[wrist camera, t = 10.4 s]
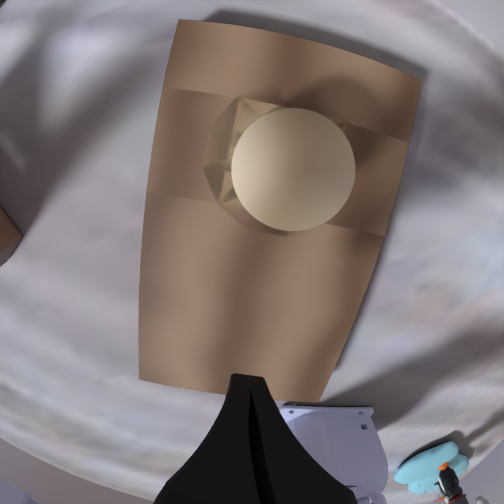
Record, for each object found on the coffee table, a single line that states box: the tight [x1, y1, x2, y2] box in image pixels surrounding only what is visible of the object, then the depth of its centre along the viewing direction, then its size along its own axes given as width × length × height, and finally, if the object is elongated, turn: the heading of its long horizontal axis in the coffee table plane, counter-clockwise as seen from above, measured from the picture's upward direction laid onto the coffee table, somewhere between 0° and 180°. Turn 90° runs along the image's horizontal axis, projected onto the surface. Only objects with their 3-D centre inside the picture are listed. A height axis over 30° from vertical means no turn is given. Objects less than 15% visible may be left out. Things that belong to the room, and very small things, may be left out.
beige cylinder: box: [231, 108, 355, 231], centre depth 16 cm, size 5×5×6 cm
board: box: [139, 19, 421, 403], centre depth 19 cm, size 14×24×2 cm, turn 169°
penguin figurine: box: [394, 441, 489, 504], centre depth 28 cm, size 20×11×15 cm, turn 38°
